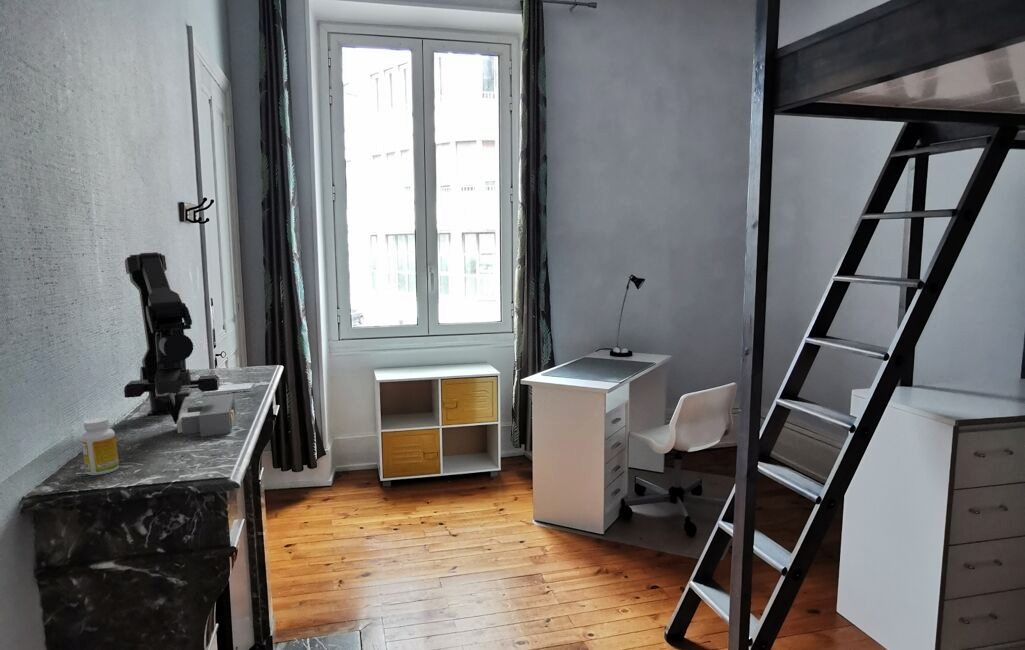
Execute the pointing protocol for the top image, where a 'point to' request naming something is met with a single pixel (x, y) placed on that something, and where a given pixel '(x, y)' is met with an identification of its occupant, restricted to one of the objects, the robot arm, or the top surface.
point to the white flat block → (179, 423)
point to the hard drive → (231, 388)
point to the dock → (211, 416)
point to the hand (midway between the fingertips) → (176, 423)
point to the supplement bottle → (99, 447)
